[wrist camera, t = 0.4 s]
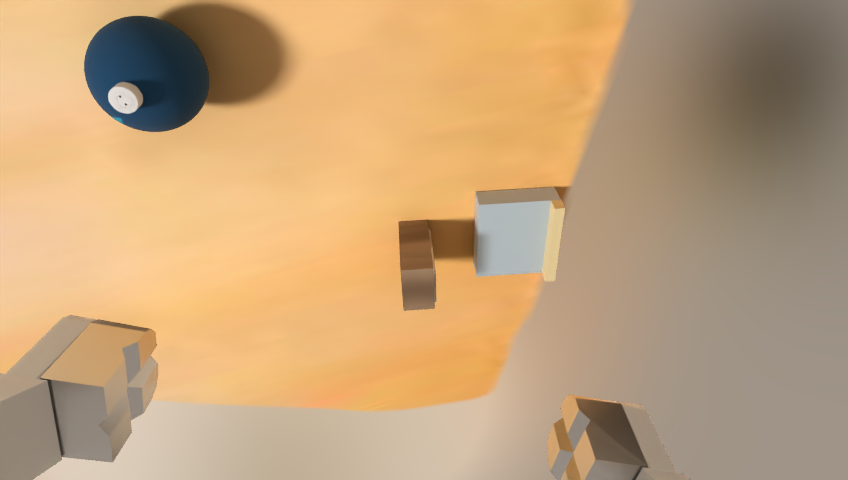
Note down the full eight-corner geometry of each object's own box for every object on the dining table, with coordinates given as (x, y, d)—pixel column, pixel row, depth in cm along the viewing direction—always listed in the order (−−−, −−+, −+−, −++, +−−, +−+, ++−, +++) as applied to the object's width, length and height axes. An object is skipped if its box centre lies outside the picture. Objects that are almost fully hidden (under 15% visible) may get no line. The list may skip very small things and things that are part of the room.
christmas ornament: (89, 29, 42) (19, 70, 34) (179, -14, 41) (129, 18, 33) (157, 121, 47) (110, 176, 39) (240, 86, 45) (209, 135, 37)
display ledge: (475, 191, 53) (481, 213, 50) (554, 186, 53) (565, 208, 50) (473, 262, 58) (478, 285, 55) (545, 257, 59) (554, 280, 55)
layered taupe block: (398, 221, 55) (400, 270, 48) (429, 219, 55) (436, 268, 48) (401, 259, 58) (403, 310, 51) (431, 257, 58) (437, 308, 51)
